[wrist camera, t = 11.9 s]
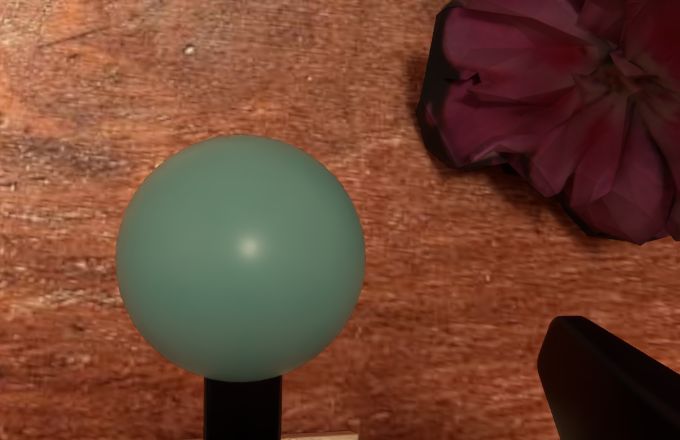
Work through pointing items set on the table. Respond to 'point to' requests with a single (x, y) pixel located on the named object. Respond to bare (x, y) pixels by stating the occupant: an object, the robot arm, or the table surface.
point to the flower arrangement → (564, 105)
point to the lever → (240, 271)
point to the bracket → (318, 436)
